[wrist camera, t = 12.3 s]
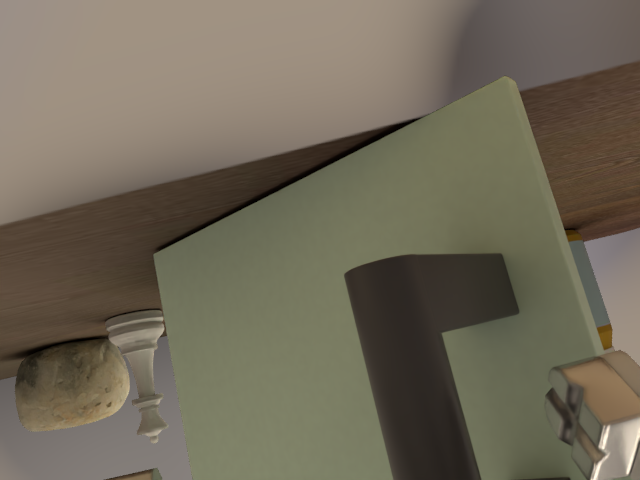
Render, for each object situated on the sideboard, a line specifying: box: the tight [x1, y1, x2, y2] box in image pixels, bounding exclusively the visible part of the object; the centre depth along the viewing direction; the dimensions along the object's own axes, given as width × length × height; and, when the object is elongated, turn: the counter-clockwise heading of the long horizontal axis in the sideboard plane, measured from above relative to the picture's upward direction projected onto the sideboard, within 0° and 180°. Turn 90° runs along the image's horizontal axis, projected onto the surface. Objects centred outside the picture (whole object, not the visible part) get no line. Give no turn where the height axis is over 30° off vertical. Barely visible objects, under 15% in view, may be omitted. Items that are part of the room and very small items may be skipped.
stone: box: [15, 339, 129, 431], centre depth 55 cm, size 10×10×10 cm
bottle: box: [565, 230, 615, 354], centre depth 58 cm, size 7×7×15 cm
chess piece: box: [106, 310, 168, 443], centre depth 45 cm, size 4×4×10 cm
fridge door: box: [153, 76, 633, 480], centre depth 18 cm, size 7×18×18 cm, turn 130°
